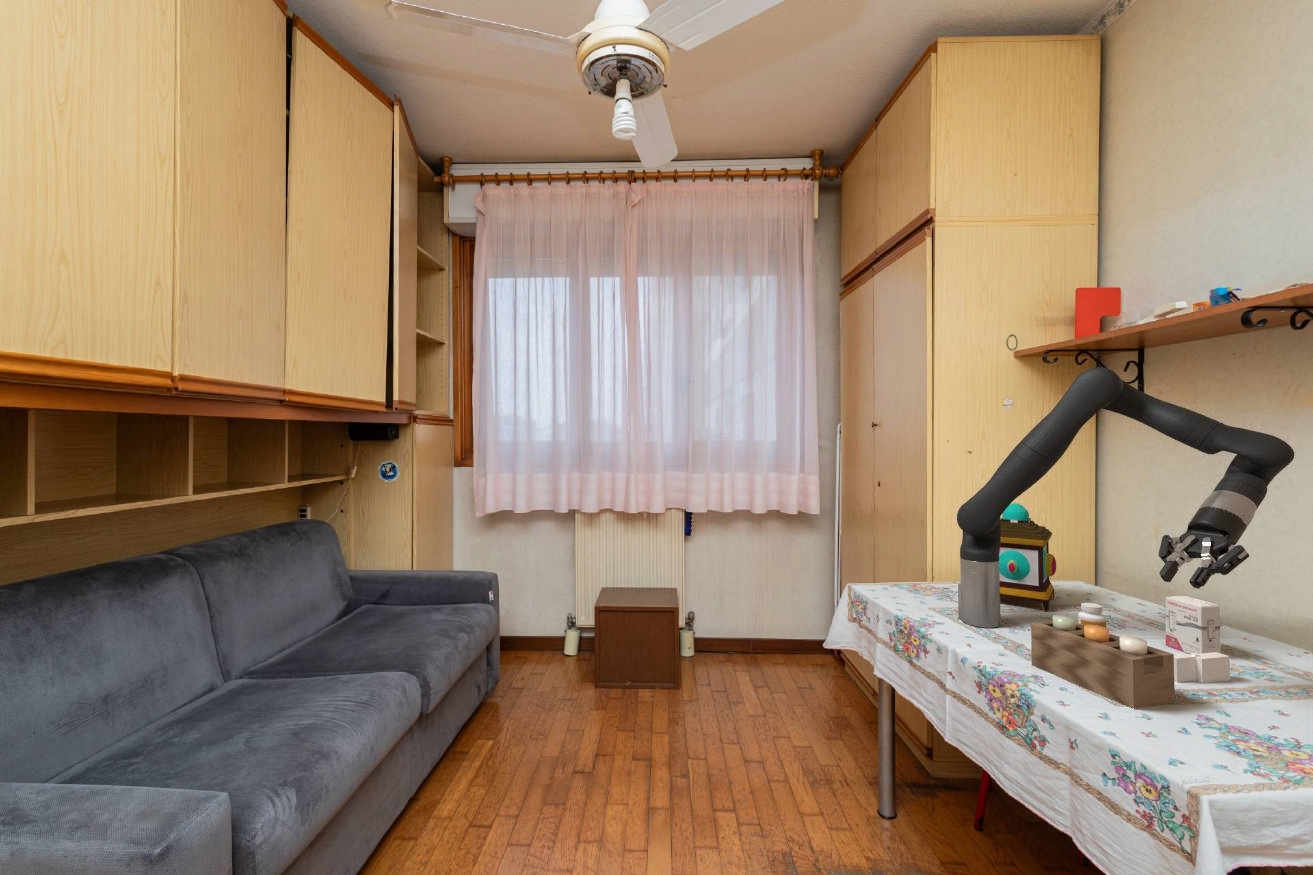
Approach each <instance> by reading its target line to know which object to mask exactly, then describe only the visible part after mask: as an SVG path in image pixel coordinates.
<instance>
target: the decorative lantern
mask: <svg viewBox="0 0 1313 875" xmlns="http://www.w3.org/2000/svg"><path fill="white" fill-rule="evenodd" d="M1000 518H1001V547H1000V553H999V572H1000V597H1006V598H1013V599H1019V600H1026V601H1032V602H1039V603H1041V606H1042V610H1043V612H1045V613H1047V612H1048V611H1049V608H1050V601H1051V600H1053V599H1054V598H1055V588H1054V586H1053V584H1052V582H1051V580H1050V577H1053V576H1054V575H1055V574H1056V573H1057V560H1056V558H1055V556H1054V554H1051V553H1049V552H1050V550H1049V547H1050V546H1049V544H1050V543H1049V542H1050V540H1051V538H1052V536H1053V533H1052V531H1050V529H1049V528H1047V527H1046V526H1045V525H1044V526H1043V525H1039V524H1038V523H1036V522H1035V521H1034V520H1032V519H1031V517H1030V513H1029V510H1028V509H1026V507H1025V506H1024V505H1022V504H1020V503H1017V502H1012V503H1011V504H1010V505H1009V506H1008V507H1007V508H1006V510H1005V511H1004V512H1003V514H1002V515H1001V517H1000Z"/></svg>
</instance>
